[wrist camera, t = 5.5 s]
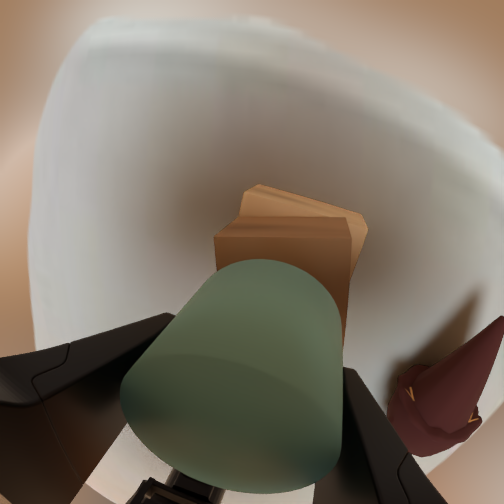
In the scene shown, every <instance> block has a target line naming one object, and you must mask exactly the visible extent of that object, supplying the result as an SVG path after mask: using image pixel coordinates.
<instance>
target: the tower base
mask: <svg viewBox="0 0 504 504" xmlns="http://www.w3.org/2000/svg"><path fill="white" fill-rule="evenodd" d="M238 217H346V220H347V223H348V227H349V230H350V234H351V237H352V248H351V267H350V279H351V276H352V274H353V271H354V268H355V266H356V263H357V260H358V257H359V255H360V252H361V249H362V246H363V244H364V241H365V238H366V235H367V232H368V227H367V225H366V223H365V221H364V219H363V217H362V215H361V214H359V213H356V212H352V211H349V210H346V209H343V208H340V207H337V206H333V205H330V204H327V203H324V202H320V201H317V200H314V199H310V198H307V197H303V196H300V195H297V194H293V193H290V192H286V191H282V190H279V189H275V188H272V187H268V186H264V185H261V184H258V185H256V186H254V187H252V188H250V189H249V190H247V191H245V192H244V193H243V198H242V202H241V207H240V211H239V216H238Z"/></svg>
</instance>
